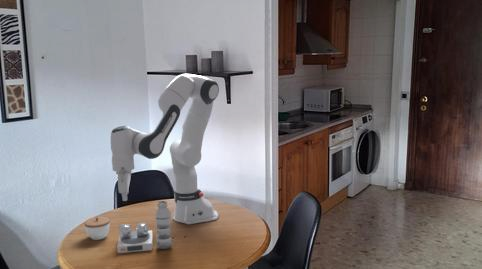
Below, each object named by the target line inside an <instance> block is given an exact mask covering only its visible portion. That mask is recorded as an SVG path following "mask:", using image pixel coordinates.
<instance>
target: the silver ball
mask: <svg viewBox="0 0 482 269" xmlns="http://www.w3.org/2000/svg"><path fill="white" fill-rule="evenodd" d="M135 229H136V230H135V231H137V237H138V238H145V237H147V236H148V231H149V224H148V223H147V222H139V223H137V224H136V226H135Z"/></svg>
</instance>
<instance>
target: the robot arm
mask: <svg viewBox="0 0 482 269" xmlns="http://www.w3.org/2000/svg"><path fill="white" fill-rule="evenodd" d="M219 91H220V88H219V84H218V82H217V81H215V80H214V79H211V78H208V77H206V76H202V75H197V74H192V73H186V72H185V73H182V74H179V75H177V76H176V77H175V78H174V79H172V81H171V82H170V83H169V84H168V85H167V86H166V88H165V89H164V90H163V91H162V93H161V94H160V96H159V97H158V98H159V99H158V107H159V110H160V111H161V112H162V117H161V119H160V120H159V122H158V124H157V125H156V127H155V129H154V130H153V131H152V132H149V133H147V132H144V131H139V130H137V129H135V128H132V127H130V126H128V125H122V126H117V127H115V128H113V129H112V130H111V133H110V150H111V153H112V155H111V156H112V157H111V165H112V166H111V167H112V171H113V172H115V173H116V175H117V189H118V193H119V194H121V197H122V198H121V199H122V201H123V202H127V201H128V194H129V187H130V182H131V176H132V173H133V172H132V170H134V169H135V155H139V156H143V157H144V158H147V159H149V160H154V159H157V158H159V157H160V156H161V155H162V153H163V152H164V149H165V145H166V142H167V140H168V138H169V136H170V134H172V131H173V129H174V127H175V126H176V124H177V122H178V120H179V119H180V118H179V117H180V115H181V111H182V110H183V108H184V106H185V105H186V103H187V102H188V100H189V98H192V102H191V104H190V106H189V108H188V110H187V114H186V116H185V119H184V121H183V124H182V132H181V138H180V139H177V140H176V139H175V140H174V141H172V143H171V144H170V146H169V153H170V158H171V165H172V170H173V174H174V192H173V196H174V203H175V205H174V212H173V217H172V219H173V220H174V221H175V222H178V223H183V224H186V225H193V224H198V223H204V222H211V221H216V220H218V218H219V213H218V212H217V210H215V209H214V206H213V204H212V201H209V200H208V199H207V198H205V197H204V193H203V191H202V190H201V189H200V188H199V189H198V174H197V171H196V168H195V167H196V166H197V165H199V163H200V162H201V160H202V146H203V140H204V135H205V131H206V129H207V126H208V123H209V120H210V117H211V114H212V111H213V107H214V101H215V100H216V99H217V97H218V95H219Z"/></svg>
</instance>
